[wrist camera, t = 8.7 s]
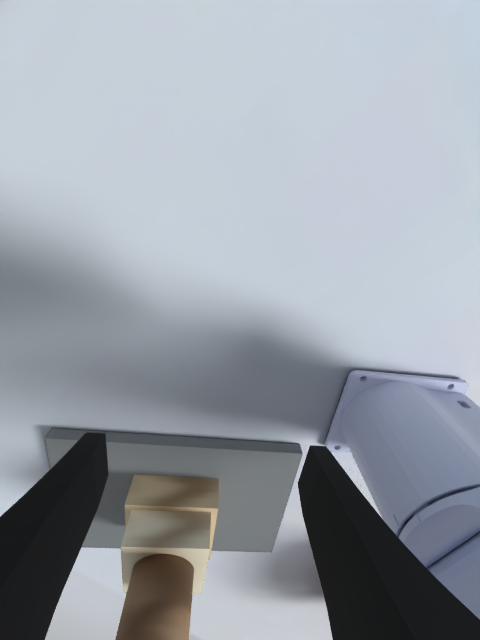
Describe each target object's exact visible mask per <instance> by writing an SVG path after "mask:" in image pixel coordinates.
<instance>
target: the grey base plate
mask: <svg viewBox="0 0 480 640" xmlns="http://www.w3.org/2000/svg"><path fill="white" fill-rule="evenodd" d="M87 432H91V433H106V446H107V459H108V473H109V475H108V478H107V482H106V485H105V488H104V491H103V494H102V498H101V501H100V504H99V507H98V509H97V512H96V514H95V516H94V519H93V521H92V524H91V526H90V528H89V531H88V533H87V535H86V538H85V540H84V542H83V544H82V547H90V548H121V544H122V541H123V537H124V534H125V530H126V527H125V502H126V499H127V496H128V492H129V489H130V486H131V483H132V480H133V476H134V475H152V476H172V477H192V478H212V479H219V499H218V513H217V519H216V526H215V532H214V538H213V544H212V550H211V551H244V552H272V550H273V546H274V543H275V540H276V537H277V534H278V531H279V527H280V524H281V521H282V518H283V515H284V511H285V508H286V505H287V502H288V499H289V496H290V492H291V489H292V486H293V483H294V480H295V476H296V473H297V470H298V467H299V464H300V460H301V457H302V450H301V447H300V444H291V443H276V442H260V441H244V440H229V439H213V438H198V437H182V436H167V435H151V434H135V433H120V432H104V431H89V430H73V429H57V428H52V429H51V430H50V432H49V433H48V434H47V436H46V437H45V442H46V448H47V453H48V458H49V463H50V469H51V468H52V467H53V466H54V465H55V464H56V463H57V462H58V461H59V460H60V459H61V458H62V457H63V456H64V455H65V454H66V453H67V452H68V451H69V450H70V449H71V448H72V447H73V445H74V444H75V443H76V442H77V441H78V440H79V439H80V438H81V437H82V436H83V435H84V434H85V433H87Z"/></svg>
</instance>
